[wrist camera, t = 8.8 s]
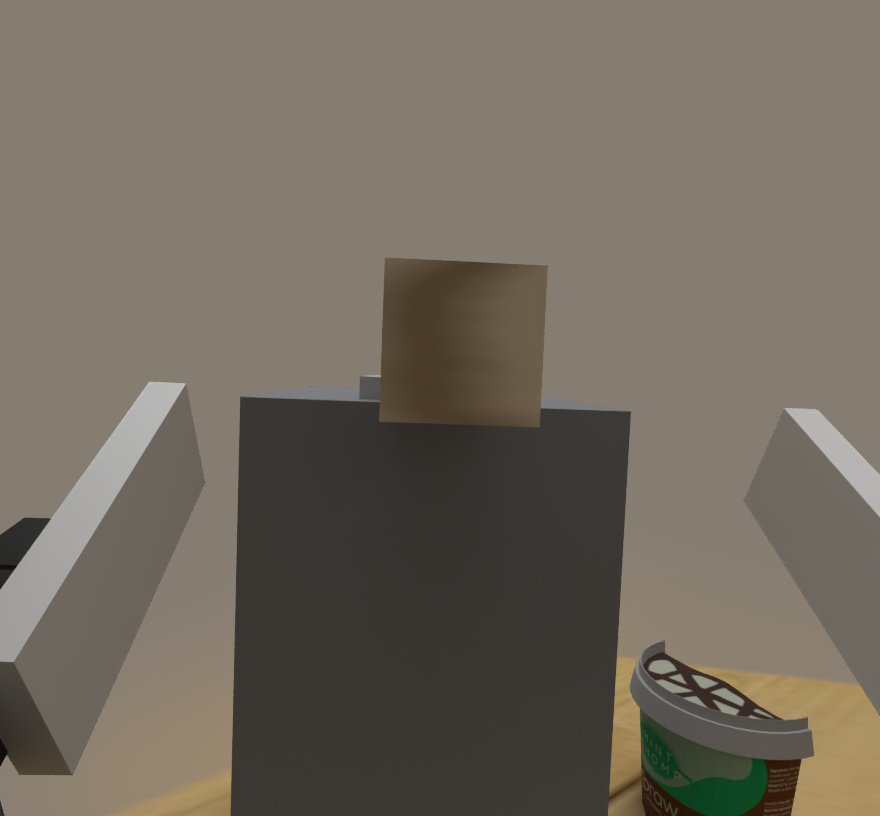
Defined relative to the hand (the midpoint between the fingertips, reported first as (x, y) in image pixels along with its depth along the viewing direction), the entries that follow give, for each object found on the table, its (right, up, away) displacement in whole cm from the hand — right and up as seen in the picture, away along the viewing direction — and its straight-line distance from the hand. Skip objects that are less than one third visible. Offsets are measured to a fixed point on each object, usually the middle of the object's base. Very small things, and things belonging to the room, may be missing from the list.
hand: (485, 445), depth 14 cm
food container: (+15, -27, +27) cm, 41 cm away
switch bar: (-1, +1, +14) cm, 14 cm away
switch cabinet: (-3, -26, +22) cm, 34 cm away
